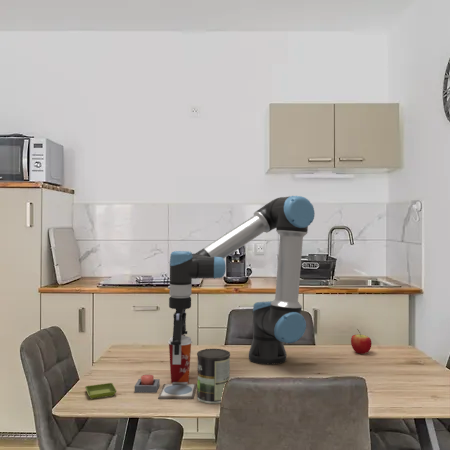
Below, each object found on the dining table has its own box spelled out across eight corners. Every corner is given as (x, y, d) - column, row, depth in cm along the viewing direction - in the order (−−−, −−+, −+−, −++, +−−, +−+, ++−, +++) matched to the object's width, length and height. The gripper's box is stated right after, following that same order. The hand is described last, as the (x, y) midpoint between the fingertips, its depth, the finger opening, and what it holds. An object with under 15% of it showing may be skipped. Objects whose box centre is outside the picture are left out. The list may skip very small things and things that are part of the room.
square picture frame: (196, 386, 160) (196, 382, 160) (193, 399, 148) (193, 395, 148) (163, 385, 161) (163, 381, 161) (158, 398, 149) (158, 394, 149)
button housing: (159, 385, 161) (159, 379, 161) (156, 392, 154) (156, 386, 154) (138, 384, 161) (138, 379, 161) (134, 392, 154) (134, 386, 154)
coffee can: (197, 404, 144) (197, 357, 144) (196, 392, 154) (196, 348, 154) (231, 403, 145) (231, 357, 145) (228, 391, 155) (228, 348, 155)
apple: (354, 349, 207) (355, 326, 207) (374, 352, 202) (374, 329, 202) (347, 353, 201) (347, 329, 201) (367, 357, 196) (367, 332, 196)
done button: (154, 383, 160) (154, 374, 160) (152, 387, 156) (152, 378, 156) (142, 382, 160) (142, 374, 160) (140, 387, 156) (140, 378, 156)
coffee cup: (188, 386, 160) (188, 341, 160) (164, 385, 161) (164, 340, 161) (194, 378, 168) (195, 335, 168) (172, 377, 169) (172, 334, 169)
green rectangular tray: (88, 401, 147) (88, 395, 147) (84, 392, 155) (84, 386, 155) (117, 397, 151) (117, 391, 151) (112, 388, 159) (112, 382, 159)
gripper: (173, 291, 177) (172, 348, 177) (164, 301, 152) (162, 369, 152) (194, 291, 177) (192, 349, 177) (187, 302, 152) (186, 369, 152)
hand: (179, 358), depth 164 cm, fingers open, 13 cm apart
